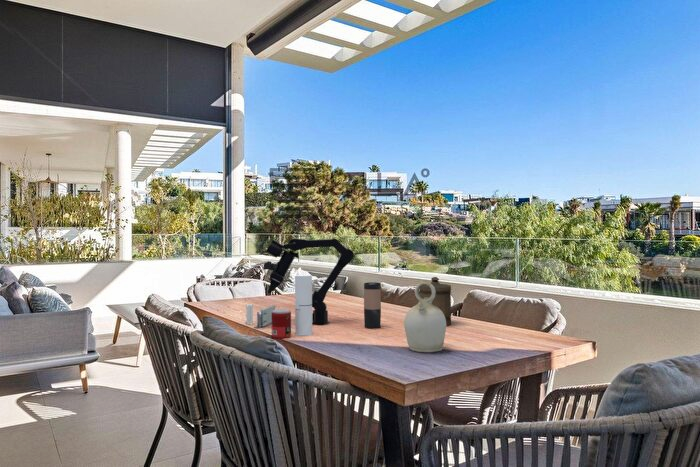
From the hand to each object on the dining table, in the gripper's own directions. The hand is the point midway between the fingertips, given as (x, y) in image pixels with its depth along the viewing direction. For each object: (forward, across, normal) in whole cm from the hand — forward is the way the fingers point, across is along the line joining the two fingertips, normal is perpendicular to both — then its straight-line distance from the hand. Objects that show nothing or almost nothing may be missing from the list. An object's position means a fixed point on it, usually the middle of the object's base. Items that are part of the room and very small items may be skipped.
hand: (269, 291), depth 238 cm
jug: (-15, +56, +61) cm, 84 cm away
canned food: (+11, +28, +14) cm, 33 cm away
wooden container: (-23, +8, +75) cm, 79 cm away
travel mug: (-9, +12, +49) cm, 51 cm away
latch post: (+18, -6, -2) cm, 19 cm away
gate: (+13, 0, +6) cm, 15 cm away
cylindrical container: (+6, +24, +22) cm, 33 cm away
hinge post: (+15, +7, +4) cm, 17 cm away
